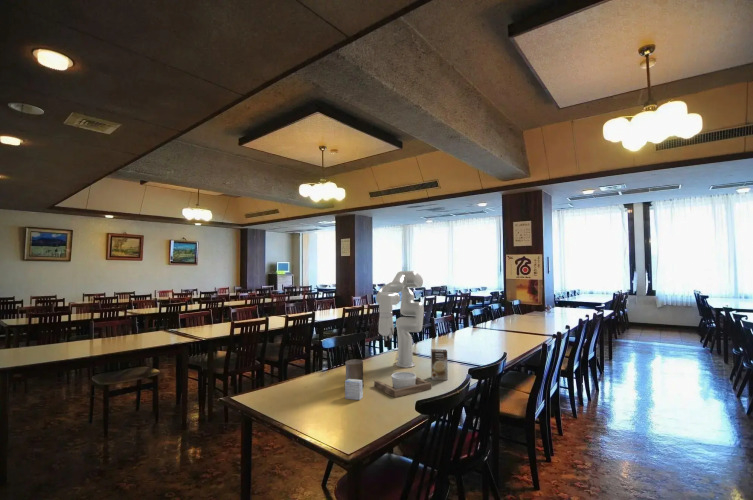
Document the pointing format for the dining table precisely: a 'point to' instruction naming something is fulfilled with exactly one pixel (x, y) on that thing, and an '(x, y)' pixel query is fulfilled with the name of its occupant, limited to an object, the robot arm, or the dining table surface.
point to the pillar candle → (354, 369)
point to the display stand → (420, 386)
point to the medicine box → (353, 389)
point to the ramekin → (403, 379)
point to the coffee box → (439, 364)
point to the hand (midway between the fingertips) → (387, 346)
